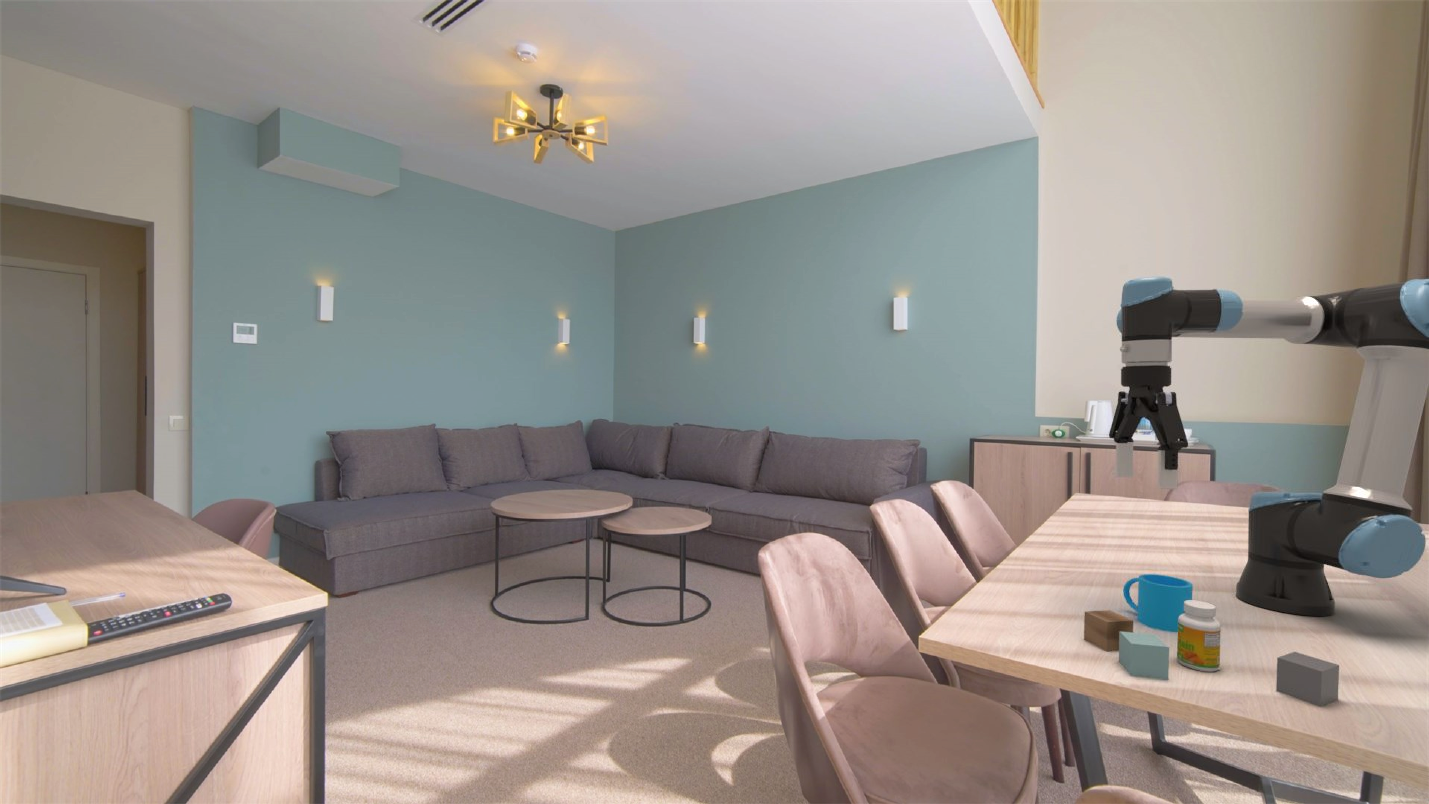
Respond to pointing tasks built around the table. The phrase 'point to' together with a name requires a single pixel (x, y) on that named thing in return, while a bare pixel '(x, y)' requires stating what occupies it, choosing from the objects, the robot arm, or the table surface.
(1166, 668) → the teal cube
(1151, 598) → the mug
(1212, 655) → the supplement bottle
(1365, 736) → the table surface
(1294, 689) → the charcoal cube
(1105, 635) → the walnut cube
